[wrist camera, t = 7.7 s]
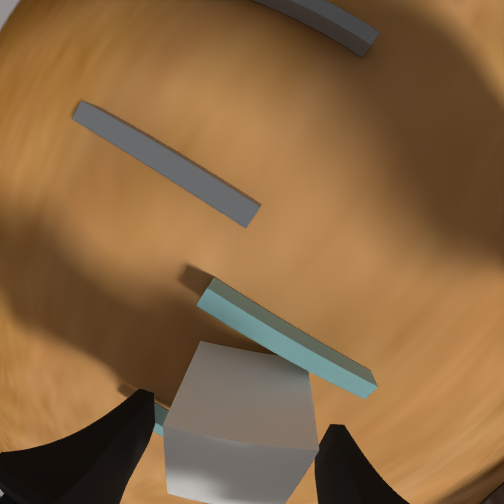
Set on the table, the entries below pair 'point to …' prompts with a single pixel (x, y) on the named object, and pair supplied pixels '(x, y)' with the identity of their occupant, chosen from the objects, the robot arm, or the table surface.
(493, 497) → the plant pot
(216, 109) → the table surface
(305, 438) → the grey cube
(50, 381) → the table surface
